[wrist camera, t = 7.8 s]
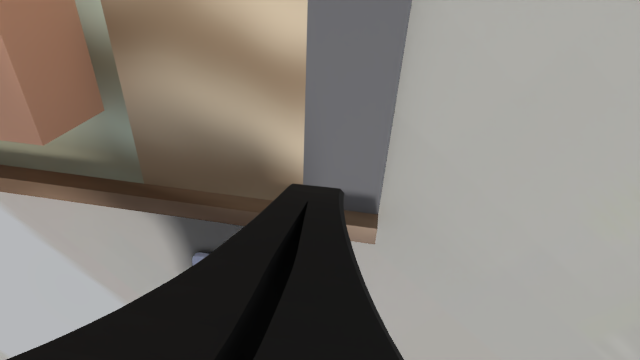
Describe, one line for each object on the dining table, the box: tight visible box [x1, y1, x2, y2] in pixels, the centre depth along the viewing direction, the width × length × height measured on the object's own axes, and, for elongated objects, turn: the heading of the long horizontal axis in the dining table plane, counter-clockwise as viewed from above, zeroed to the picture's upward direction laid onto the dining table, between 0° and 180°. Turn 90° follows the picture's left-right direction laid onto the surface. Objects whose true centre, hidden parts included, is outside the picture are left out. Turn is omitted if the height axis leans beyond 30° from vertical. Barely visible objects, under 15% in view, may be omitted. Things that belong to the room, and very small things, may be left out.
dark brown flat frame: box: [0, 0, 378, 244], centre depth 17 cm, size 17×27×2 cm, turn 87°
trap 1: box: [303, 0, 412, 214], centre depth 16 cm, size 15×4×1 cm, turn 177°
